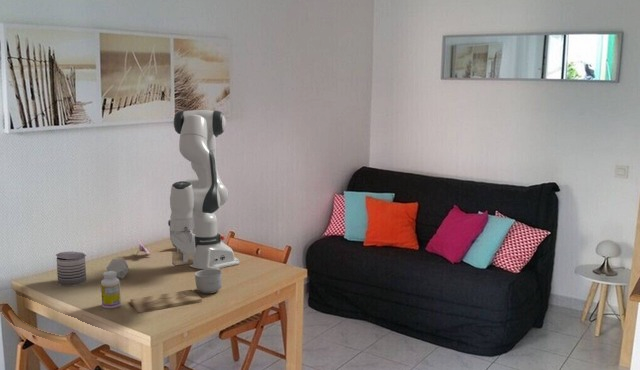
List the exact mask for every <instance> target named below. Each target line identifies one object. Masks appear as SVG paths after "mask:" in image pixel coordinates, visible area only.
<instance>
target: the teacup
mask: <svg viewBox="0 0 640 370" xmlns="http://www.w3.org/2000/svg"><path fill="white" fill-rule="evenodd" d="M222 273H223V271H222V270H221V268H216V269H201V270H198V271H195V272H194V276H195V277H194V280H195V287H196V289H197V291H199V292H200V293H202V294H206V295H207V294H214V293H216V292H217V293H218V291H219V290H220V289H221V288H222V285H223V274H222Z"/></svg>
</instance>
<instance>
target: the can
mask: <svg viewBox="0 0 640 370" xmlns="http://www.w3.org/2000/svg"><path fill="white" fill-rule="evenodd" d="M55 256H56V270H57V272H56V274H57V284H58V285H59V286H62V287H74V286H80V285H83V284H84V283H86V282H87V266H86V265H87V263H86V256H87V254H85V253H84V252H82V251H81V252H80V251H74V250H72V251H61V252H59V253H56V254H55Z"/></svg>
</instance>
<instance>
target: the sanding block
mask: <svg viewBox="0 0 640 370" xmlns="http://www.w3.org/2000/svg"><path fill="white" fill-rule="evenodd" d="M171 253H172V254H171V262H172V265H173V266H174V267H182V266H190V265H192V264H193V254H189V256H188V262H183V261H182V257H183V251H180V252H177V251H172V252H171Z"/></svg>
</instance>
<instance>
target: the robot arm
mask: <svg viewBox="0 0 640 370" xmlns="http://www.w3.org/2000/svg"><path fill="white" fill-rule="evenodd" d="M172 123H173V127H174V131H175V132H176V133H177V134H179V147H178V148H179V149H178V150H179V152H180V155H181V156H182V157H183V158H184V159H186V160H187V161H188V162H191V163H190V166H191V169H192V170H193V171H194V173H195V174H196V176H197V178H191V179H187V180H185V181H184V180H183V181H177V182H174V183H173V184H172V185H171V187H170V196H169V205H170V207H169V208H170V212H171V213H170V219H168V221H167V224H168V227H169V236H170V237H169V240H170V239H171V240H170V243H171V245H172V244H174V245H175V246H176V247H177V248H176V252H180V251H183V257H182V261H183V262H188V256H189V254H193V264H192V265H189V266H190V267H191V268H193V269H201V270H205V269H216V268H219V269H222V268H227V267H231V266H236V265H240V260H239V259H238V258H237V257H236V256H235V254H234V251H233V248H232V247H230V246H229V245H227V244H226V243H224V242H223V241H224V240H225V239H226V237H225V235H223V234H219V233H218V218H217V215H216V213H215V212H217V211H218V210H219V208H220V207H221V206H224V205H225V204H226V202H227V201H228V199H229V198H228V197H229V191H228V187H227V186H225V185H224V183H223V182H222V180H221V176H220V174H219V170H218V166H217V164H218V163H217V140H216V139H217V138H218V136H220V135H222V134H223V133H224V132H225V128H226V126H227V120H226V117H225V115H224V113H223V112H222V111H219V110H211V109H209V110H207V109H196V110H195V109H194V110H193V109H192V110H185V109H183V110H180V111H177V112H176V113H175V115H174V117H173V121H172Z"/></svg>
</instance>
